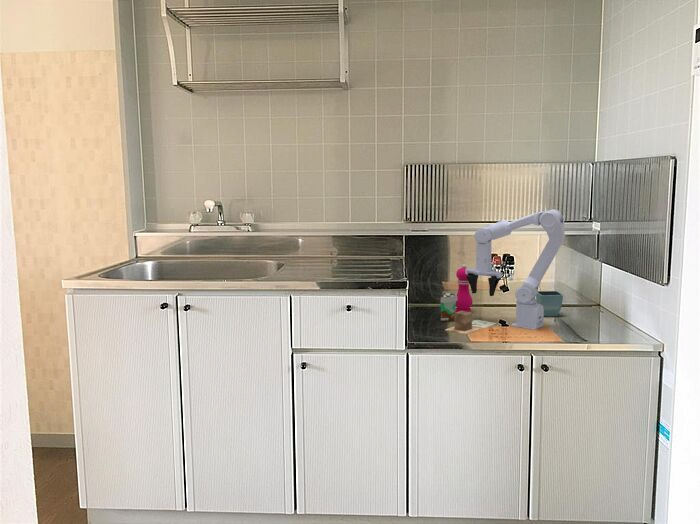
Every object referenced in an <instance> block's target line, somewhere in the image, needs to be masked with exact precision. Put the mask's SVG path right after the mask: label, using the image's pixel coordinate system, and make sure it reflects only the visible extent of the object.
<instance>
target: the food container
mask: <svg viewBox="0 0 700 524" xmlns="http://www.w3.org/2000/svg"><path fill="white" fill-rule="evenodd" d="M457 300H458V298H457V293H455V292H452V291H442V295H441V296H440V322H441V323H442V322H451V321H455V313H456V312H455V309H456V308H457V306H456V301H457Z"/></svg>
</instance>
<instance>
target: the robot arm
mask: <svg viewBox="0 0 700 524" xmlns="http://www.w3.org/2000/svg"><path fill="white" fill-rule="evenodd" d="M529 225H535V226H541V228H543V229H544V230H545V232H546V234H547V236H548V241H547V243H546V244H545V246H544V247H543V249H542V251H541V253H540V255H539V256H538V258H537V260H536V261H535V263H534V266H533V267H532V269H531V271H530V272H529V274H528V276H527V278H526V279H525V280H524V281H523V283H522V284H521V286H519V287H518V288H516V290H515V294H514V295H515V299H516V305H515V306H516V307H515V309H516V310H515V311H516V312H515V322H514V323H511V324H510V325H511V327H516V328H517V327H518V328H524V329H529V330H537V329H540V328H542V327H544V326H545V324H544V318H545V316H544V308H543V305H541V304H538V303H537V300H536V296H537V294H538V291H539V287H540V285H541V282H542V280H543V278H544V276H545V275H546V273H547V271H548V270H549V268H550V266H551V265H552V263H553V261H554V259H555V257H556V255H557V254H558V252H559V250H560V248H562V247H561V246H562V245H563V244H564V242H565V240H566V235H565V231H566V230H565V219H564V217H563V214H562V212H560V210H558V209H555V208H554V209H553V208H552V209H548V210H543V211H538V212H534V213H531V214H528V215H526V216H523V217H520V218H517V219H514V220H511V221H508V220H506V219H504V220H503V219H499V220H497V222H495V223H492V224H489V223H488V224H486V226H485V227H479V228H478V229H477V230H475V231H474V240H475V241H476V244H475V246H476V247H475V268H468V269H466V274H468V275H467V276H466V278H467V279H468V281H469V287H470V291H471V294H476V293H477V291H478V287H477V286H478V280H479V276H483V277H488V278H487V281H488V286H489V297H493V296H494V295H495V292H496V289H497V287H498V284H499V282H500V280H501V278H502V277H503V276H502V275H503V274H502V273H503V272H501V271H496V270H492V241H493V240H498V239H501V238H504V237H506V236H510V235H511V233H512V231H513V230H517V229H520V228H522V227H523V228H524V227H526V226H529Z"/></svg>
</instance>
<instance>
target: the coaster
mask: <svg viewBox="0 0 700 524" xmlns="http://www.w3.org/2000/svg"><path fill="white" fill-rule="evenodd" d="M444 329H445V328H444ZM480 330H481V328H480V327H475V326H472V329H470V330H467V331H461V330H456V329H454V326H450V327H449V328H448V327H447V328H446V329H445V331H446V332H451V333H455V334H460V335H465V336H466V335H470V334H473V333H476V332H477V331H480Z"/></svg>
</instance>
